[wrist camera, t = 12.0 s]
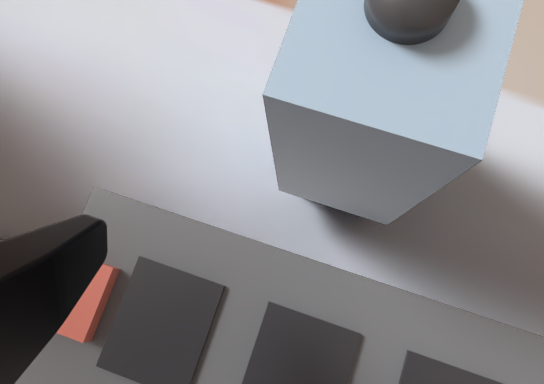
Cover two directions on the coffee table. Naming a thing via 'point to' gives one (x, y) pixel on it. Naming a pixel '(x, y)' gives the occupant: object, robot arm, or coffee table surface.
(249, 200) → the coffee table surface
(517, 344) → the power strip
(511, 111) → the coffee table surface
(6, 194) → the coffee table surface
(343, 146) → the light blue rectangular block
